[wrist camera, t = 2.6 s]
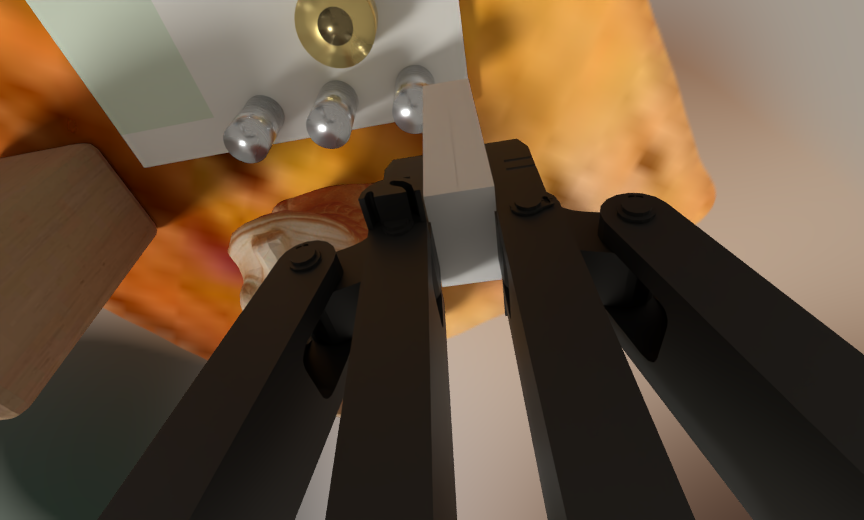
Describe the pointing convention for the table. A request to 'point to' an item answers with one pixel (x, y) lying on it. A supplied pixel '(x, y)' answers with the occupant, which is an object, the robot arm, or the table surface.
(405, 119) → the spacers
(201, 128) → the board
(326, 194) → the ceramic vessel
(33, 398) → the wooden block
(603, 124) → the table surface
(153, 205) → the table surface
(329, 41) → the brass round knob
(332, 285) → the robot arm
